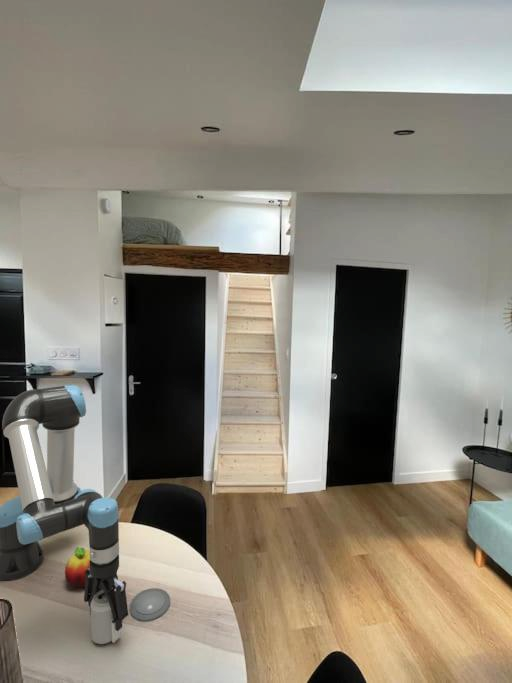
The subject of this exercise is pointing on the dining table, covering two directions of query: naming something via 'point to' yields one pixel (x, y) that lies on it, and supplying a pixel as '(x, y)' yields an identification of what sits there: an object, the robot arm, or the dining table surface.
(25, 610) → the dining table surface
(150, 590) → the saucer
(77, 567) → the fruit
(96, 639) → the can
